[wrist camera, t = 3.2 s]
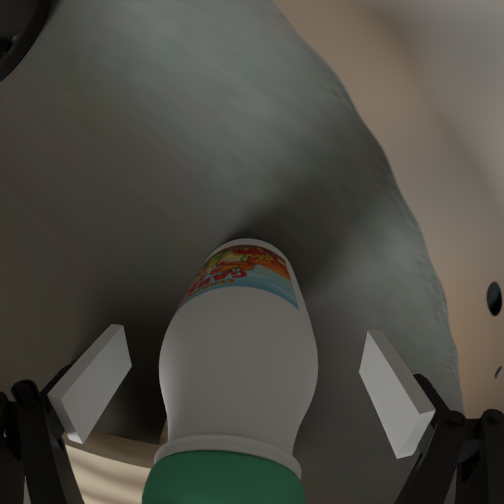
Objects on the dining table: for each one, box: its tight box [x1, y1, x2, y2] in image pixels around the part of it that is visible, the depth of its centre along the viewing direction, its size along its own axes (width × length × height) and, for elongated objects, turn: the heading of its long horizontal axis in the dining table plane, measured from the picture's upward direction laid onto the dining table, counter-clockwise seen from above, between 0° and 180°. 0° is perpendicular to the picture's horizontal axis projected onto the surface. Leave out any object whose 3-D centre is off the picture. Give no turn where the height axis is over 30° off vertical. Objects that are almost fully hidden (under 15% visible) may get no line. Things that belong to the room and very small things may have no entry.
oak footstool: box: [62, 363, 168, 504], centre depth 24 cm, size 18×18×12 cm
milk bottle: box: [142, 238, 318, 504], centre depth 15 cm, size 8×8×20 cm
